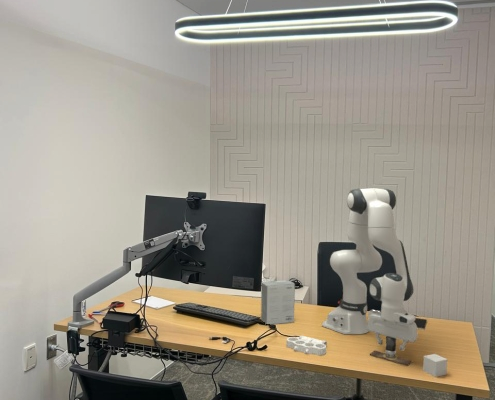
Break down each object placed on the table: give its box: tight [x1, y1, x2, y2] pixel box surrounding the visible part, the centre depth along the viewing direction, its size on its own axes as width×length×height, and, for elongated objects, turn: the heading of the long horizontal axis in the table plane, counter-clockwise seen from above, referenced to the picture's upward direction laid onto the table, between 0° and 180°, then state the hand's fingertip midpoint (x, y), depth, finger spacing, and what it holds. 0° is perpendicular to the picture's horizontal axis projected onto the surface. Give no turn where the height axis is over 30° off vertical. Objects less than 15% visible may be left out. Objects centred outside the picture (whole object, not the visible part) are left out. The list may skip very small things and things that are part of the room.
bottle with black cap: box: [384, 336, 397, 359], centre depth 195 cm, size 4×4×8 cm
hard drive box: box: [260, 279, 296, 325], centre depth 239 cm, size 16×8×20 cm, turn 108°
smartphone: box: [414, 317, 428, 330], centre depth 241 cm, size 8×1×15 cm
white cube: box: [422, 353, 448, 378], centre depth 182 cm, size 6×6×6 cm
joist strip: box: [369, 350, 413, 367], centre depth 195 cm, size 16×6×1 cm, turn 50°
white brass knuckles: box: [286, 335, 328, 356], centre depth 205 cm, size 3×18×15 cm
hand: (390, 346), depth 195 cm, fingers open, 8 cm apart
